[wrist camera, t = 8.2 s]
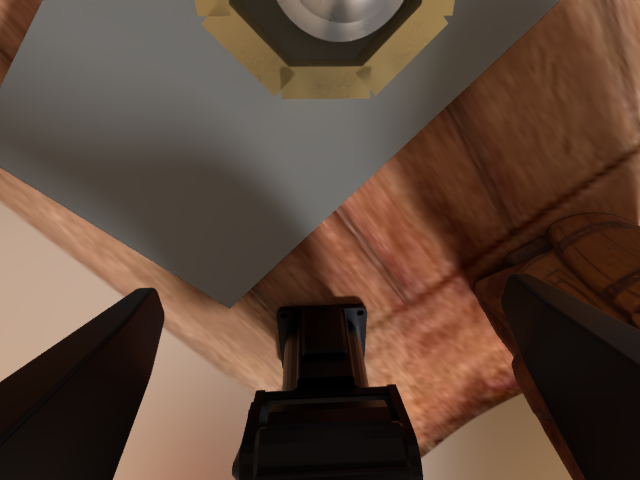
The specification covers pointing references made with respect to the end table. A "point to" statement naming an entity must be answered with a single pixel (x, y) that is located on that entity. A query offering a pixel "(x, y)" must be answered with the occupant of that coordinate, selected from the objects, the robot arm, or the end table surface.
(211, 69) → the mat
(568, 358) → the robot arm
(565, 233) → the wooden figurine
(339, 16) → the silver calibration weight
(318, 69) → the brass ring
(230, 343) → the end table surface
